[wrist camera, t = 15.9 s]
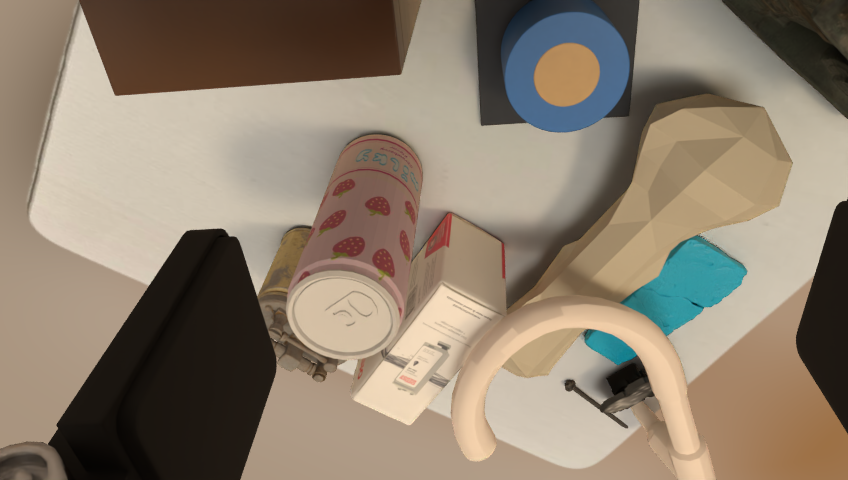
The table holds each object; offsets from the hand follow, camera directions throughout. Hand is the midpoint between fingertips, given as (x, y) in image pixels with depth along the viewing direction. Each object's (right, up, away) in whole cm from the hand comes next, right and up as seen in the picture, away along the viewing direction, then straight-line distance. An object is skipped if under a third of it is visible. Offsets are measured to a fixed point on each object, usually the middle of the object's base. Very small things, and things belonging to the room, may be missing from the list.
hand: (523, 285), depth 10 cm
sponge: (+19, -6, +36) cm, 41 cm away
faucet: (+13, -21, +39) cm, 47 cm away
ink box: (+2, 0, +29) cm, 30 cm away
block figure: (+13, -12, +40) cm, 44 cm away
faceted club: (+10, +2, +33) cm, 34 cm away
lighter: (-9, -1, +36) cm, 37 cm away
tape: (+6, +12, +26) cm, 29 cm away
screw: (+13, -14, +42) cm, 46 cm away
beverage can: (-4, +5, +31) cm, 32 cm away
